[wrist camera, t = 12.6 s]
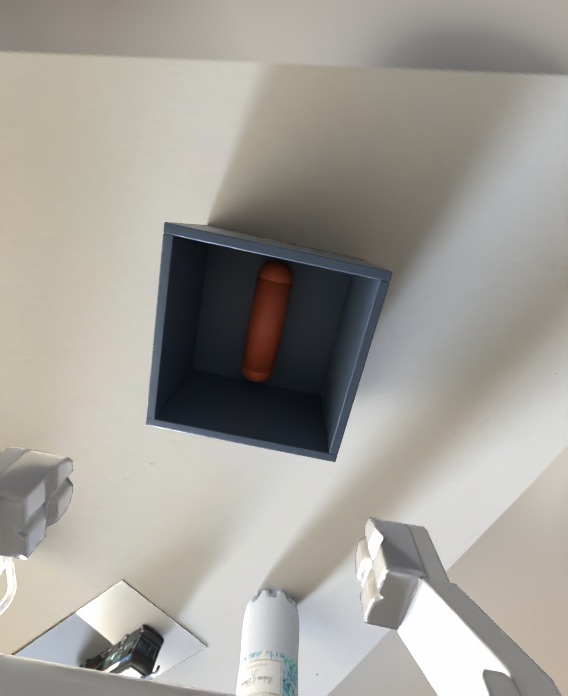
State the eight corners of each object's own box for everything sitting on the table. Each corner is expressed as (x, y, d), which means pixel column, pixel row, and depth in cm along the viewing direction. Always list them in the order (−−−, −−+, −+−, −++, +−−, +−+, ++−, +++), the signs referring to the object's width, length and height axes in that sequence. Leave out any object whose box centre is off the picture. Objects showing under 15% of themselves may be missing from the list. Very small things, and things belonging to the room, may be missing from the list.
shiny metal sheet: (207, 646, 45) (198, 687, 41) (82, 719, 50) (64, 761, 46) (121, 580, 41) (103, 617, 37) (-1, 665, 47) (-29, 705, 43)
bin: (205, 225, 29) (163, 221, 20) (362, 259, 29) (392, 271, 20) (186, 371, 33) (145, 425, 24) (324, 399, 33) (335, 462, 24)
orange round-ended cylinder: (265, 256, 29) (257, 258, 26) (297, 264, 29) (293, 266, 26) (243, 371, 32) (234, 382, 30) (273, 378, 32) (266, 391, 29)
